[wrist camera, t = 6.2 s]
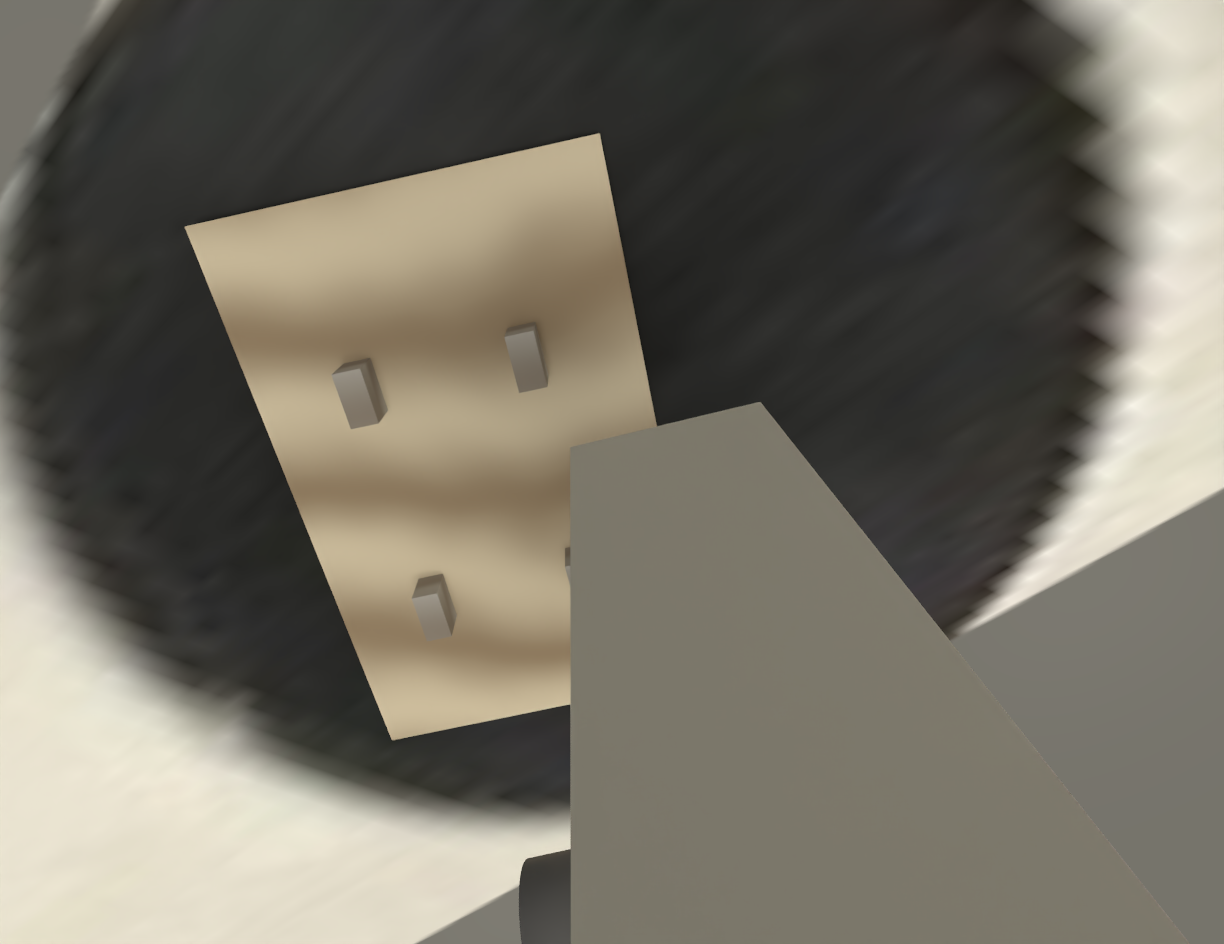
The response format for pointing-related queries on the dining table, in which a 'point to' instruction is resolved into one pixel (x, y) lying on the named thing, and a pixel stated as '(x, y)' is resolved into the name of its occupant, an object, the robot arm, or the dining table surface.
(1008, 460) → the dining table surface
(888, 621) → the door panel
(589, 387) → the light brown flat board
